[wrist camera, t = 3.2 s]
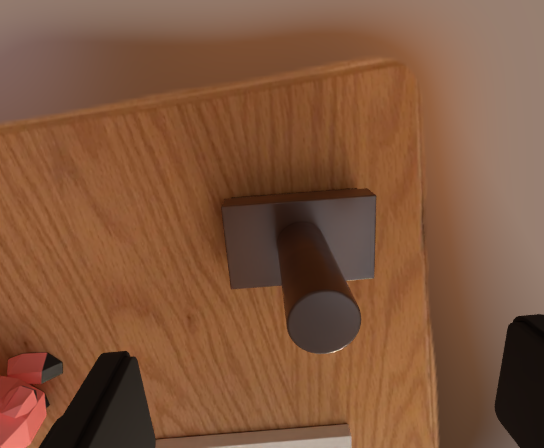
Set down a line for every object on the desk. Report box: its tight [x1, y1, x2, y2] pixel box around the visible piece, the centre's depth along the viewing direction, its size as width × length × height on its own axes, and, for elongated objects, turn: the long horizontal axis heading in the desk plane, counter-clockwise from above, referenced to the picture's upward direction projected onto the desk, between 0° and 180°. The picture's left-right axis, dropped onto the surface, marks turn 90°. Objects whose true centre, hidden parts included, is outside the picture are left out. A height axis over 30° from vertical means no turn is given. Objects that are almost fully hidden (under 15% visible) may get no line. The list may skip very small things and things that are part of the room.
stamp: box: [221, 188, 376, 354], centre depth 16 cm, size 8×4×10 cm, turn 94°
